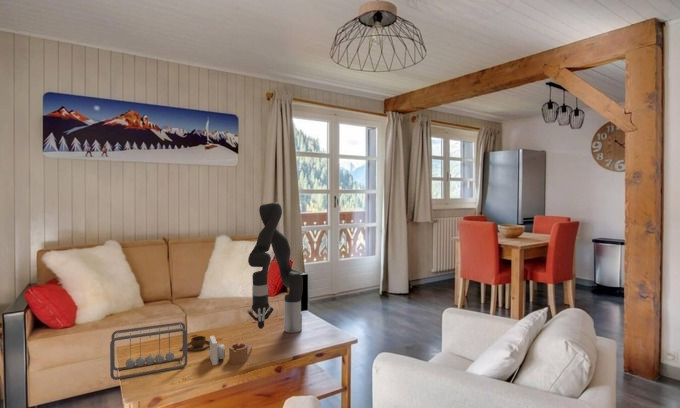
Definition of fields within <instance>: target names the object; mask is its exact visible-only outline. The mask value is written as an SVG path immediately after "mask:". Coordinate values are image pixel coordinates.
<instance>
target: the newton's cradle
mask: <svg viewBox="0 0 680 408" xmlns="http://www.w3.org/2000/svg"><path fill="white" fill-rule="evenodd" d="M177 326H179V328H174V329H173V328H172V329H170V327H177ZM162 328H167V329H166V330H161V329H162ZM154 329H158V330H157V331H149V332H144V333H137V334H131V333H133V332H142V331H146V330H154ZM179 332H182V346H183V350H182V355H181V356H180V357H175V354H174V352H173V351H171V341H170V340H171V339H170V337H171V336H170V333H179ZM125 333H129V335H122V336H121V335H120V336H118V335H119V334H125ZM165 334H168V348H169V351H168V352H167V353H166V354H165V355H164V354H162V353H161V335H165ZM157 335H158V345H159V348H158V350H159V351H158V352H159V353H158V354H157V355H156V356H154V355H151V354H149V355H148V356H147V357H143V356H141V353H142V350H141V347H142V346H141V341H142V340H141V338H145V337H151V336H157ZM115 336H116V337H115ZM137 338H139V341H140V342H139V345H140V346H139V351H140V352H139V353H140V354H139V356H138V357H137V358H136V359H134V358H132V351H131V349H132V348H131V347H132V345H131V344H132V341H131V340H132V339H137ZM122 340H129V347H130V349H129V350H130V354H129V358H128V359H127V360H126V361H125V366H122V367H120V366H119V367H116V364H115V363H116V362H115V361H116V357H115V355H116V354H115V353H116V352H115V349H116V348H115V342H116V341H122ZM187 344H188V331H187V329H186V325H185V323H184V322H182V321H178V322H172V323H164V324H156V325H149V326H141V327H134V328H126V329H119V330H115V331H113V332H112V334H111V341H110V342H109V346H110V347H109V349H110V350H109V351H110V352H109V353H110V354H109V359H110V360H109V361H110V362H109V363H110V364H109V365H110V367H109V368H110V369H109V370H110V378H111V379H112V380H113V381H116V380H123V379H127V378H128V379H129V378H134V377H140V376H145V375H152V374H156V373H161V372H168V371H172V370H177V369H182V368H186V366H187V365H188V350H187ZM183 359H184V363H183V364H182V360H183ZM177 361H179V362H180V365H176V366H172V367H171V366H170V367H165V368H161V369H160V368H159V369H154V370H149V371H143V372H137V373H131V374H126V375H119V371H121V370H122V371H123V370H124V371H125V370H129V369H135V368H140V367H145V366H151V365H158V364H165V363H170V362H177ZM114 371H117V372H116V376H115V375H114V374H115V373H114Z"/></svg>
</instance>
